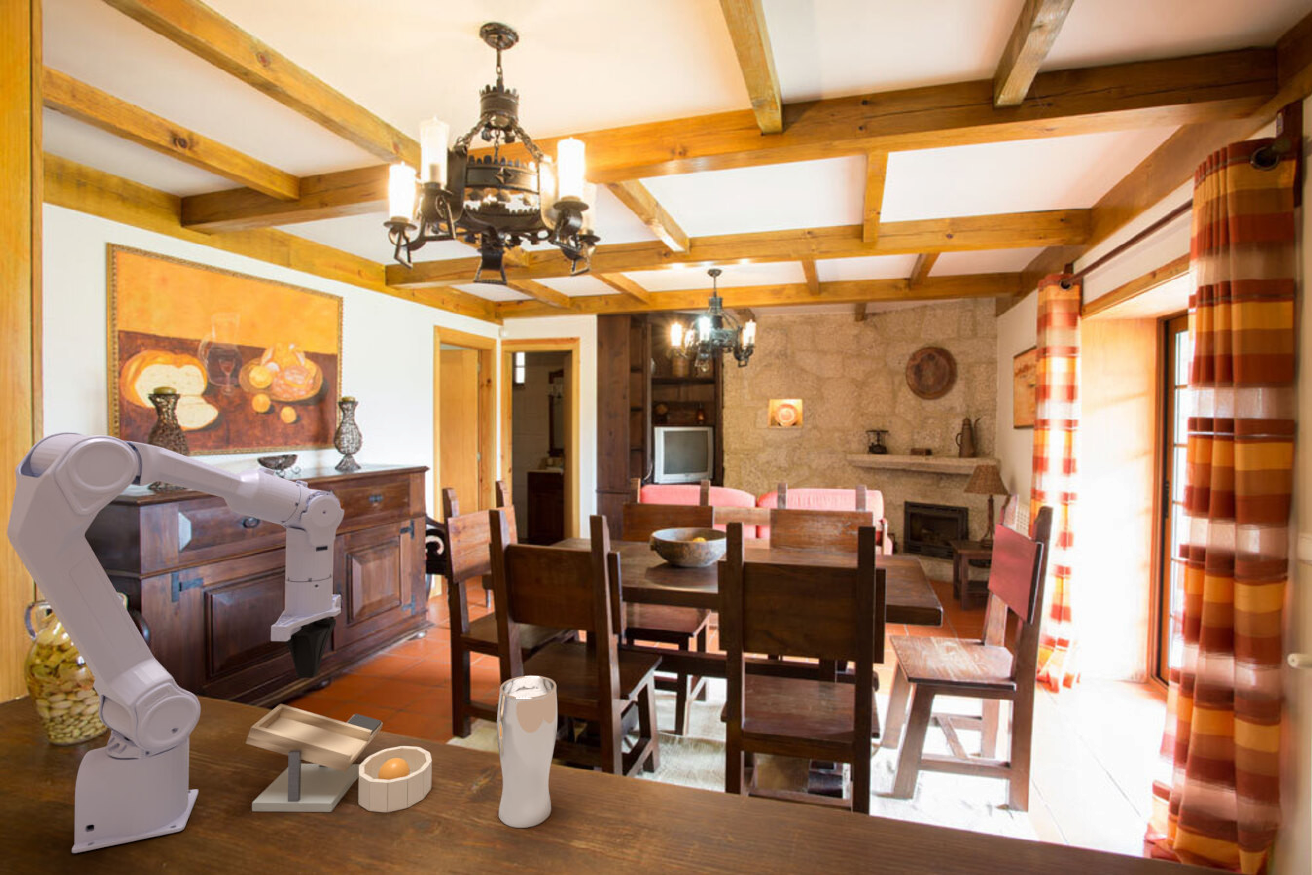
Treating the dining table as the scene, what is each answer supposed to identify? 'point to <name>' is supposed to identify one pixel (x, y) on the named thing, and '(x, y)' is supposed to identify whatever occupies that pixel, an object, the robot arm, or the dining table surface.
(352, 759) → the tilting wooden tray
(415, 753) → the cup
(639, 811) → the dining table surface
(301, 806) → the stand
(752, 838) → the dining table surface
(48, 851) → the dining table surface
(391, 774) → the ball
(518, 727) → the beer glass
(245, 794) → the dining table surface
